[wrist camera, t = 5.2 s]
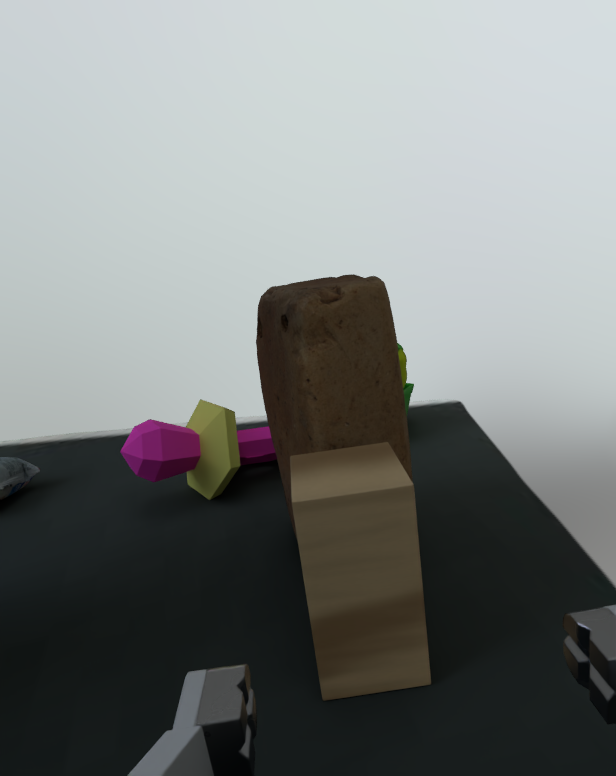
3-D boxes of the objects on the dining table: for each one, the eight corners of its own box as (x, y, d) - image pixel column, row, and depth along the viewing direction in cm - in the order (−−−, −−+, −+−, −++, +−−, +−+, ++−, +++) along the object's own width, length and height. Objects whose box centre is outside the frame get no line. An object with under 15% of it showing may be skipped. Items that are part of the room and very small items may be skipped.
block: (429, 565, 33) (405, 269, 28) (333, 605, 31) (287, 287, 26) (354, 503, 43) (326, 275, 38) (276, 530, 40) (235, 289, 36)
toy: (317, 485, 50) (303, 388, 52) (141, 502, 39) (134, 380, 42) (266, 497, 57) (256, 412, 60) (107, 514, 47) (104, 410, 49)
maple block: (431, 685, 24) (414, 484, 21) (322, 701, 24) (291, 502, 21) (404, 609, 30) (388, 441, 27) (315, 623, 29) (289, 455, 27)
